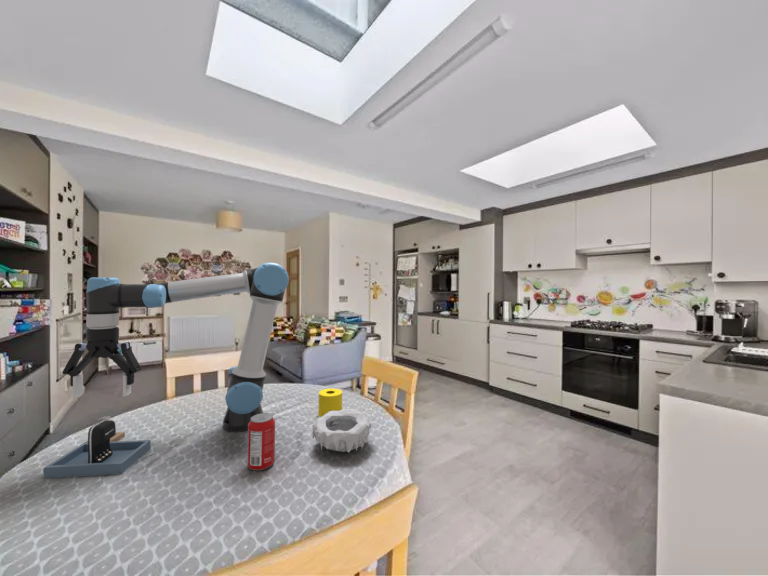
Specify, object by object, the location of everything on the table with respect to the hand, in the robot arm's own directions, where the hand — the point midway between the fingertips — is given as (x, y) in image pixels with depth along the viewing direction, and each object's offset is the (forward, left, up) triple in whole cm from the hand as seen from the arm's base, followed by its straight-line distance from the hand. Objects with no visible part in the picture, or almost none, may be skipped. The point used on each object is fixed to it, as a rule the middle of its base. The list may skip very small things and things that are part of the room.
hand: (102, 395), depth 97 cm
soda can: (-49, +7, -21) cm, 54 cm away
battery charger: (0, 0, -20) cm, 20 cm away
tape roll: (-69, -30, -21) cm, 78 cm away
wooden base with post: (+8, -13, -21) cm, 26 cm away
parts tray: (0, 0, -21) cm, 21 cm away
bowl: (-74, -2, -21) cm, 77 cm away
